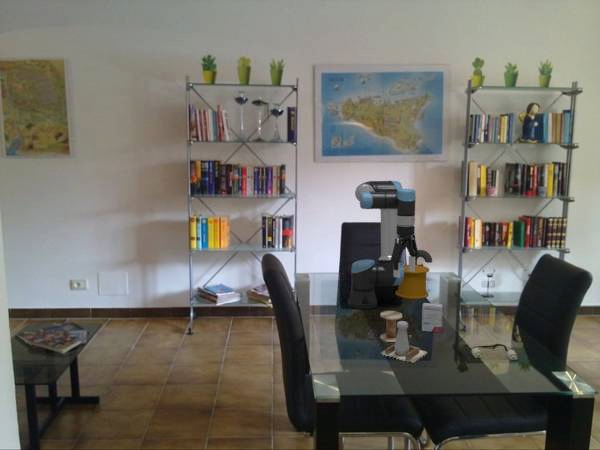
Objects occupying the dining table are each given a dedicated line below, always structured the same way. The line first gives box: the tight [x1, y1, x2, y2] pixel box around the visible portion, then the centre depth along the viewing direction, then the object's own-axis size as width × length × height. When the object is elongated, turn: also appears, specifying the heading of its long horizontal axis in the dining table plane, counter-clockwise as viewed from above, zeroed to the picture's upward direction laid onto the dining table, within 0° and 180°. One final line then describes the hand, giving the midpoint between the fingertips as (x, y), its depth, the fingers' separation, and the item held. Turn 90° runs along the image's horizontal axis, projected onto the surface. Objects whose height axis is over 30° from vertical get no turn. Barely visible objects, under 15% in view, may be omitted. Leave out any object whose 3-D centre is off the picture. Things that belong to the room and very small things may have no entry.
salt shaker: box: [394, 320, 410, 356], centre depth 192 cm, size 6×6×13 cm
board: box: [380, 343, 428, 364], centre depth 195 cm, size 14×12×3 cm
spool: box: [395, 264, 430, 300], centre depth 276 cm, size 18×18×15 cm
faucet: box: [415, 249, 433, 266], centre depth 302 cm, size 18×16×20 cm
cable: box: [470, 343, 518, 361], centre depth 197 cm, size 16×16×4 cm
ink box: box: [421, 302, 443, 333], centre depth 221 cm, size 9×5×12 cm, turn 71°
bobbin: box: [379, 310, 403, 343], centre depth 210 cm, size 9×9×11 cm
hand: (404, 274), depth 213 cm, fingers open, 13 cm apart
